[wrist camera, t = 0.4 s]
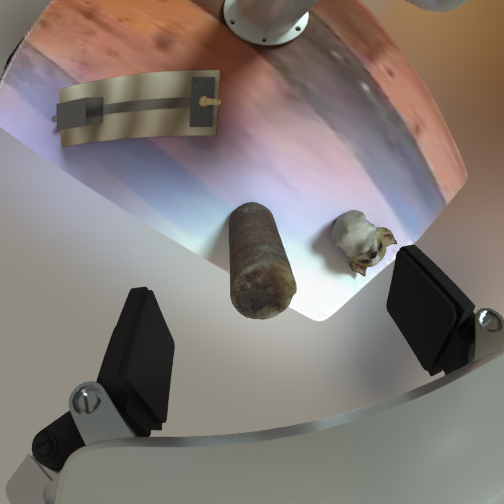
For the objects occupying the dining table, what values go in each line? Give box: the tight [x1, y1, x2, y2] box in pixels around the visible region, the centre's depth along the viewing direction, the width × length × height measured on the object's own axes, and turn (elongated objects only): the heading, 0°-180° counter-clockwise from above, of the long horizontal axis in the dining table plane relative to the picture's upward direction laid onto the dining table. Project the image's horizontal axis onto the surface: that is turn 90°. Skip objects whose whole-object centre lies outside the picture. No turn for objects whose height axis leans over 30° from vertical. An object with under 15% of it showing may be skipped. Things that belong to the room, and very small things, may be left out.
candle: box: [229, 202, 297, 320], centre depth 37 cm, size 8×7×20 cm
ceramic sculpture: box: [331, 210, 397, 276], centre depth 46 cm, size 11×9×15 cm
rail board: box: [60, 70, 220, 147], centre depth 34 cm, size 26×10×2 cm, turn 86°
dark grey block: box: [51, 97, 103, 131], centre depth 29 cm, size 10×4×6 cm, turn 86°
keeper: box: [189, 77, 222, 127], centre depth 32 cm, size 4×7×6 cm, turn 176°
